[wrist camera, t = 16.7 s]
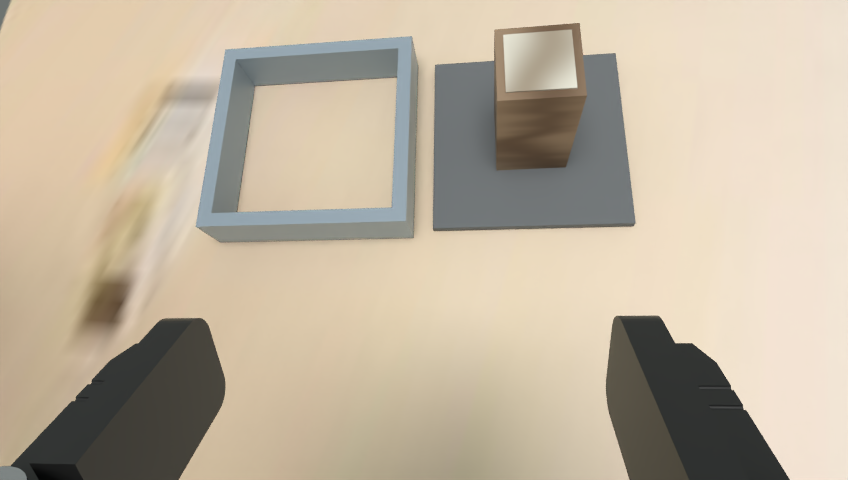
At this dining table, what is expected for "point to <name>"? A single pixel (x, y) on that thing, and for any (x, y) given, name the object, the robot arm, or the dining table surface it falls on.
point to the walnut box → (537, 95)
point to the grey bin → (304, 67)
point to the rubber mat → (527, 188)
